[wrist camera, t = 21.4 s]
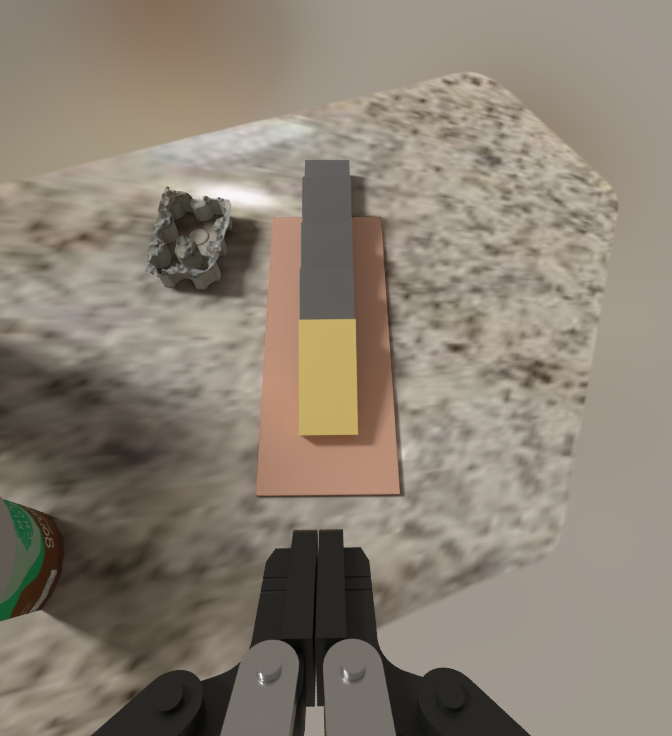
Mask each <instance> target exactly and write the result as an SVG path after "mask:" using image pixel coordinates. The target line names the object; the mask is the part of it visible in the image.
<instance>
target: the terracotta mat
mask: <svg viewBox="0 0 672 736" xmlns="http://www.w3.org/2000/svg"><path fill="white" fill-rule="evenodd" d="M301 222H302V217H287V218H273V225H272V241H271V257H270V274H269V290H268V306H267V323H266V339H265V355H264V371H263V388H262V404H261V420H260V436H259V453H258V469H257V485H256V496H308V495H398V494H400V488H399V473H398V459H397V444H396V430H395V415H394V401H393V386H392V372H391V357H390V343H389V328H388V314H387V299H386V285H385V270H384V256H383V241H382V227H381V217H352V238H353V267H354V319H356V359H357V411H358V435H299V320H300V268H301Z"/></svg>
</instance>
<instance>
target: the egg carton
mask: <svg viewBox="0 0 672 736" xmlns="http://www.w3.org/2000/svg"><path fill="white" fill-rule="evenodd" d="M203 199H204V200H195V199H192V197H191V196H190V195H189V194H188V193H186V192H181V191H177V192H176V191H174V190H169V187H166V189H165V192H164V193H163V195H162V199H161V201H160V204H159V209H158V213H159V216H158V219H157V221H156V223H155V225H154V232H153V235H152V239H151V241H150V243H149V251H148V266H147V267H146V272H151V273H152V274H153V275H157V277H159V278H160V279H161V281H162V283H163V284H164V286H165V287H174V286H175V285H176V283H177V282H179V281H180V280H183V279H190V280H192V281H193V282H194V284H195V287H196V289H203V290H204V289H206V288H207V287H208V285H209V284H211V283H213V282H216V281H220V277H221V272H220V269H219V267H218V264H217V262H216V260H217V259H218V257H219V256H223V255H226V251H227V247H226V244H225V241H224V235H225V231H231V229H232V224H233V223H232V221H231V218H230V211H231V203H230V201H229V200H225V199H222V198H219V197H218V199H211V198H208V197H207V196H204V197H203ZM186 212H189V213H194V215H195V218H196V219H197V220H199V221H209V220H211V219H212V218H213V217H214V216H215V214H218V215H223V217H222V218H219V219H218V218H217V220H216V222H215V224H214V226H213V228H214V230H215V233H216V236H217V238H216V241H215V242H209V246H206V254H207V255H208V257H209V260H208V265H209V267H208V269H207V270H205V271H202V270H199V269H198V268H199V267H200V266H201V265H202V263H203V259H202V256H201V254H200V251H199V249H198V247H197V245H201V244H204V243H205V242H206V241H207V240H208V238H209V234H208V232H207V231H206V230H204V229H196V230H193V231H192V232H191V233H190V234H189V236H188V238H187V237H185V236H179V232H178V229H177V227H176V225H175V223H174V220H176V219H180V218H182V217H183V216H184V215H185V213H186ZM178 236H179V237H178ZM177 238H178V239H177ZM176 239H177V240H176ZM175 240H176V248H175V254H176V256H177V258H178V259H179V261H180V263H181V264H178V263H177V264H176V267H173V266H172V267H170V268H169V269H168V270H166V269H162V272H161V275H160V274H159V272H158V270H159V269H160V268H164V267H166V266H168V265H169V264H170V263H171V261H172V256H171V254H170V252H169V250H168V248H167V246H166V244H167V243H172V242H174V241H175Z"/></svg>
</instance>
